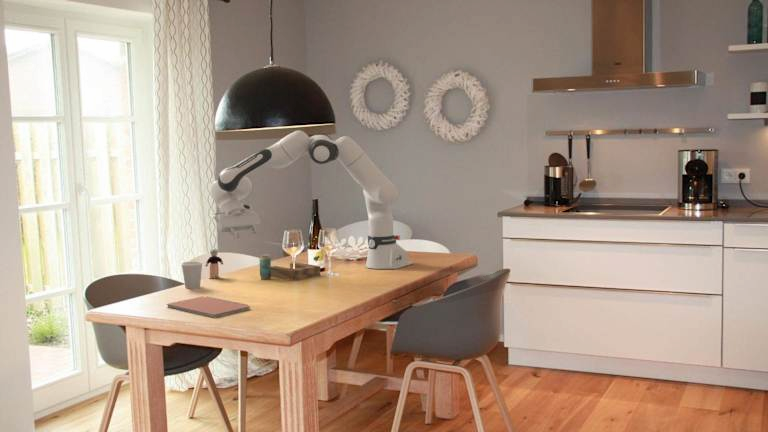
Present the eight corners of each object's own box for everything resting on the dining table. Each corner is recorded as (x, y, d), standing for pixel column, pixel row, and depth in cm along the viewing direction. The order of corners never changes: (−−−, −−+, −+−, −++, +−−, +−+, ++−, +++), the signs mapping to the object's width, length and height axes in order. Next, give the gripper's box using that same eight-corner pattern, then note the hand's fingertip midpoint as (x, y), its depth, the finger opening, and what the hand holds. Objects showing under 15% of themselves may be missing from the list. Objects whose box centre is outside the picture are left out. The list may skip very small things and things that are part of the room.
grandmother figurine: (209, 279, 341) (208, 249, 340) (204, 278, 344) (203, 248, 343) (225, 277, 346) (224, 247, 345) (220, 275, 349) (219, 246, 348)
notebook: (252, 310, 286) (252, 304, 286) (214, 319, 273) (214, 313, 273) (204, 300, 303) (204, 295, 303) (166, 308, 291) (166, 303, 290)
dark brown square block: (296, 271, 357) (296, 262, 357) (320, 275, 346) (320, 266, 346) (269, 276, 347) (268, 266, 346) (292, 280, 336) (292, 271, 335)
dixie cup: (177, 289, 322) (176, 264, 321) (189, 285, 330) (188, 260, 329) (195, 290, 319) (194, 265, 318) (207, 286, 327) (206, 261, 326)
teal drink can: (266, 277, 344) (265, 253, 343) (273, 278, 341) (272, 255, 340) (257, 278, 341) (257, 255, 340) (264, 280, 338) (263, 256, 337)
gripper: (215, 209, 344) (229, 234, 338) (254, 205, 358) (268, 229, 353) (209, 218, 347) (223, 243, 342) (248, 214, 362) (262, 238, 356)
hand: (246, 236), depth 347 cm, fingers open, 8 cm apart
